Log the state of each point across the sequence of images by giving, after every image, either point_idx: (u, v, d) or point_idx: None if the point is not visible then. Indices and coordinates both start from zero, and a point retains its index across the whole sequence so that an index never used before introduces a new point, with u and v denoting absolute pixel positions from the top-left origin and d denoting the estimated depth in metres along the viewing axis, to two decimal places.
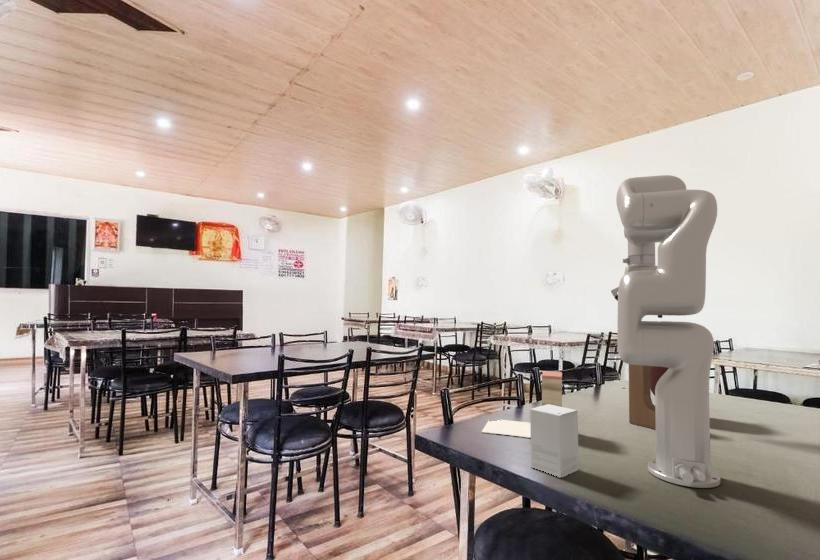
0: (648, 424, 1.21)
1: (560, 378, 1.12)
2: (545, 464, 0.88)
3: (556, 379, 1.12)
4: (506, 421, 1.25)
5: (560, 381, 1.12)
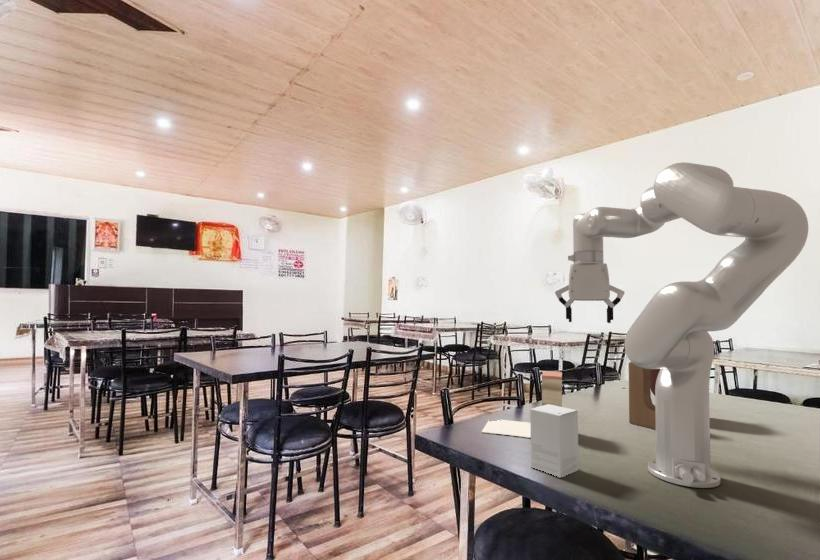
0: (648, 424, 1.21)
1: (560, 378, 1.12)
2: (545, 465, 0.88)
3: (556, 379, 1.12)
4: (506, 421, 1.25)
5: (560, 381, 1.12)
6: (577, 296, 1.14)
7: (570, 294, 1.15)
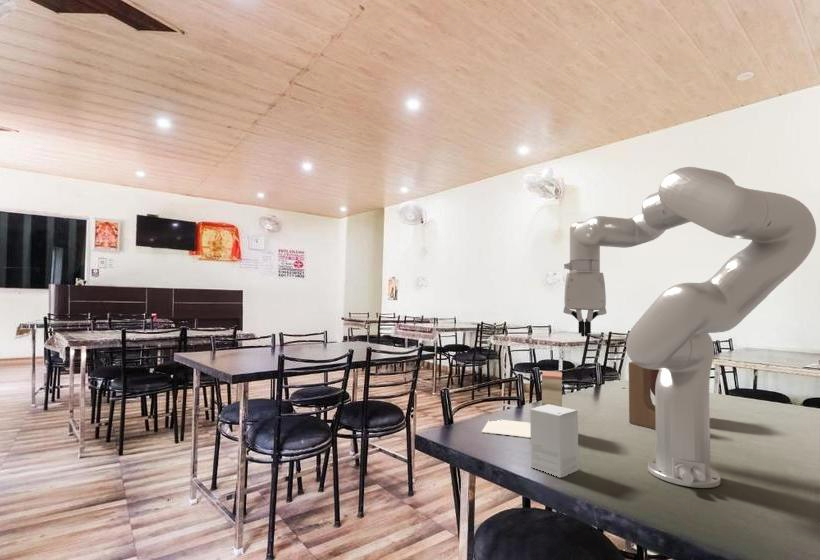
0: (648, 424, 1.21)
1: (560, 378, 1.12)
2: (545, 464, 0.88)
3: (556, 379, 1.12)
4: (506, 421, 1.25)
5: (560, 381, 1.12)
6: (573, 305, 1.13)
7: (566, 303, 1.14)
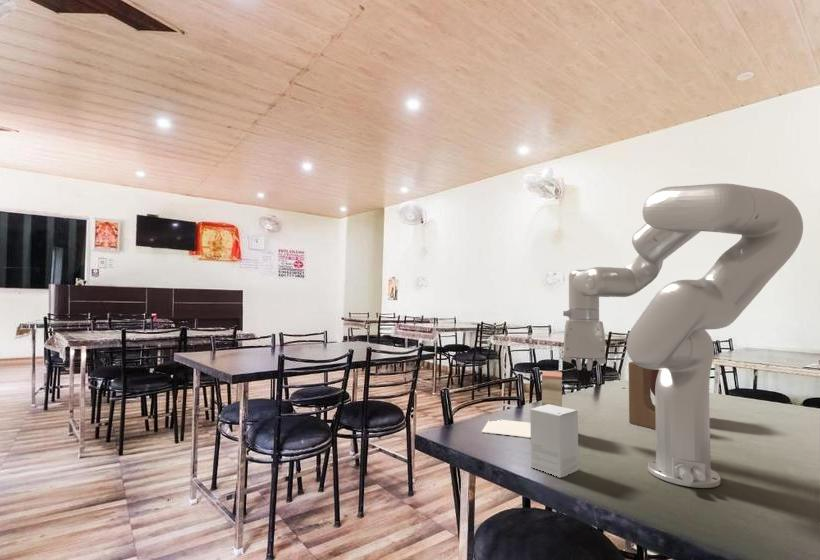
0: (648, 424, 1.21)
1: (560, 378, 1.12)
2: (545, 464, 0.88)
3: (556, 379, 1.12)
4: (506, 421, 1.25)
5: (560, 381, 1.12)
6: (572, 354, 1.12)
7: (565, 352, 1.13)
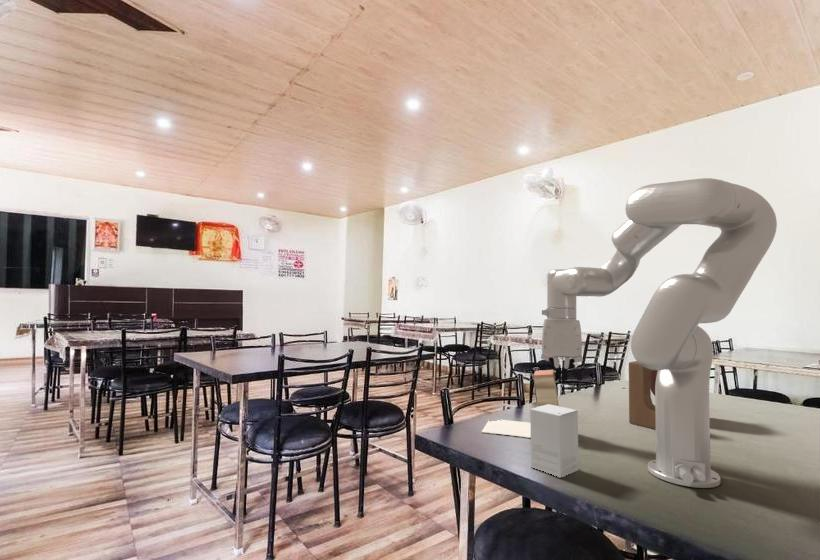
0: (648, 424, 1.21)
1: (551, 375, 1.12)
2: (545, 465, 0.88)
3: (548, 377, 1.13)
4: (506, 421, 1.25)
5: (552, 378, 1.12)
6: (550, 352, 1.14)
7: (543, 350, 1.15)
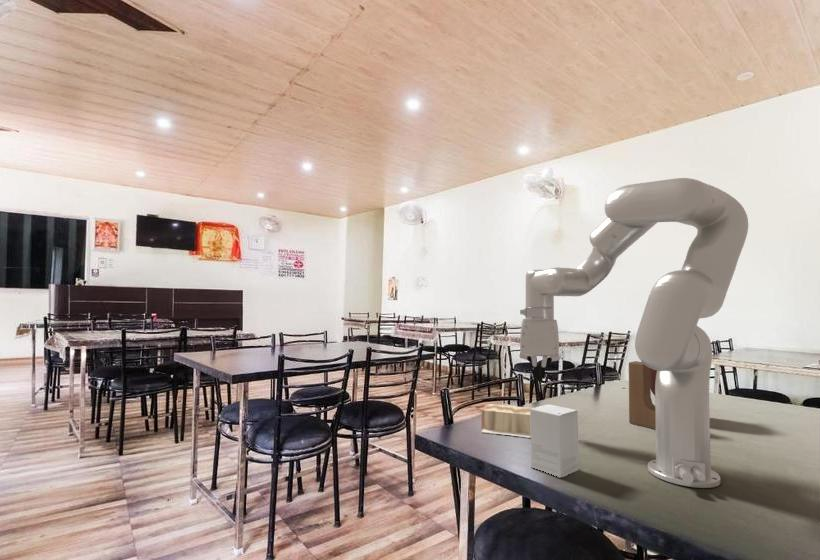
0: (648, 424, 1.21)
1: (483, 411, 1.18)
2: (545, 465, 0.88)
3: (484, 415, 1.18)
4: None
5: (486, 411, 1.18)
6: (527, 351, 1.16)
7: (521, 349, 1.17)
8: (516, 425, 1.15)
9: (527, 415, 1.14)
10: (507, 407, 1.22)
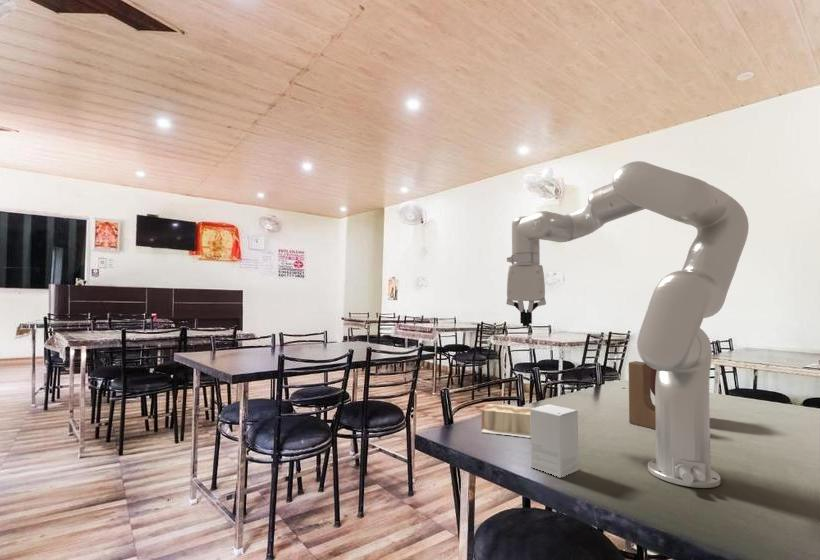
0: (648, 424, 1.21)
1: (483, 411, 1.18)
2: (545, 465, 0.88)
3: (484, 415, 1.18)
4: None
5: (486, 411, 1.18)
6: (514, 296, 1.18)
7: (508, 294, 1.19)
8: (516, 425, 1.15)
9: (527, 415, 1.14)
10: (507, 407, 1.22)
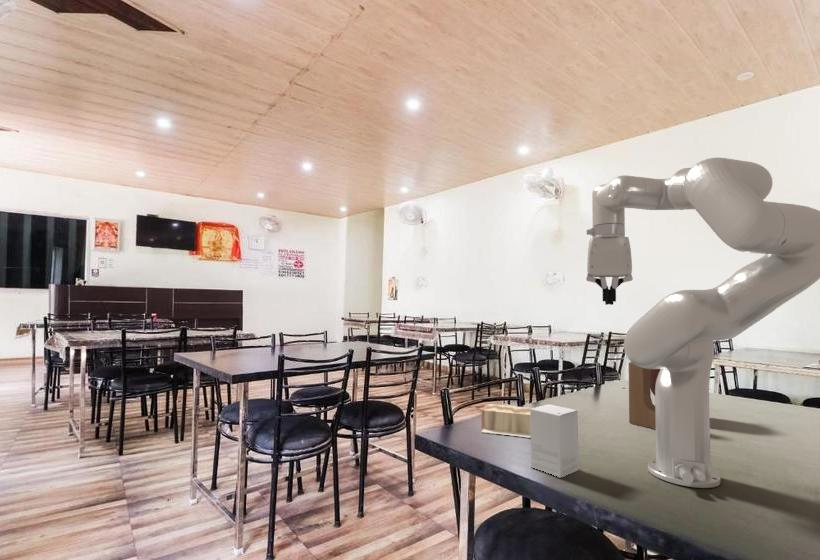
0: (648, 424, 1.21)
1: (483, 411, 1.18)
2: (545, 465, 0.88)
3: (484, 415, 1.18)
4: None
5: (486, 411, 1.18)
6: (597, 272, 1.07)
7: (590, 270, 1.08)
8: (516, 425, 1.15)
9: (527, 415, 1.14)
10: (507, 407, 1.22)
